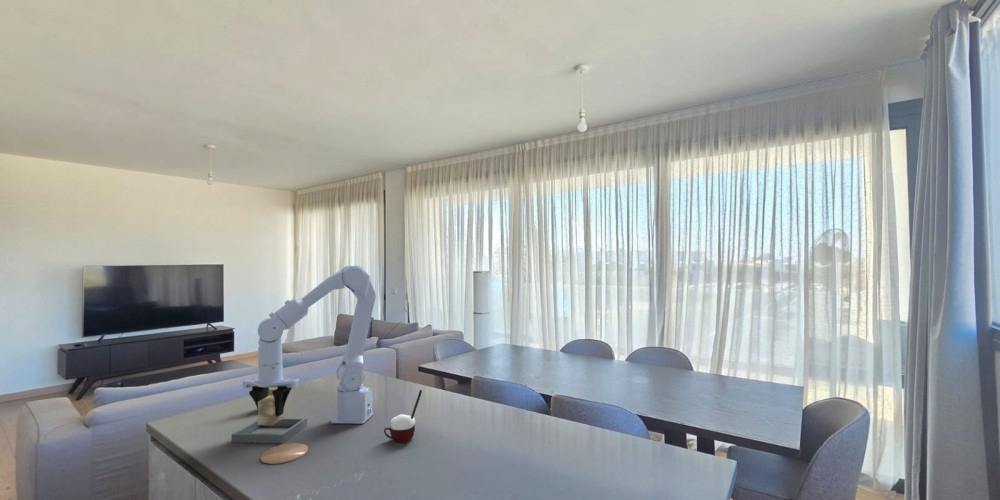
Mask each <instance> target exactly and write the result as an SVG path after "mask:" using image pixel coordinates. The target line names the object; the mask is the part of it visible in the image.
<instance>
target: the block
mask: <svg viewBox="0 0 1000 500" xmlns="http://www.w3.org/2000/svg"><path fill="white" fill-rule="evenodd" d="M284 412H285V410H283V414H281V415H280V416H276V413H275V400H274V396H268V397H266V398H264V399H262V400H260V401H258V409H257V420H258V425H273V424H275V423H277V422H278V421H280V420H281V419H283V418H285V415H284V414H285V413H284Z"/></svg>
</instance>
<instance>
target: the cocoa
mask: <svg viewBox="0 0 1000 500" xmlns="http://www.w3.org/2000/svg"><path fill="white" fill-rule="evenodd" d="M422 393H423V390H422V389H419V392H418V395H417V398H416V400H415V404H414V407H413V410H412V413H411V415H408V414H398V415H396V416H394V417H392V418H390V425H389V427H385V428H384V429H383V433H384V435H385V436H386V438H388V439H390V440H393V441H394V442H395V443H399V444H401V443H403V444H404V443H407V442H409V441H411V439H413V437H414V435H415V430H416V419H415V417H414V416H415V414H416V410H417V408H418V404H419V401H420V398H421V396H422ZM387 430H389V432H390V435H389V434H388V433H387V432H386V431H387Z"/></svg>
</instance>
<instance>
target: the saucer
mask: <svg viewBox="0 0 1000 500" xmlns="http://www.w3.org/2000/svg"><path fill="white" fill-rule="evenodd" d="M308 450H309V447H308V446H307V445H306V444H304V443H299V442H296V443H295V442H294V443H293V442H292V443H291V442H290V443H283V444H280V445H277V446H273V447H271V448H269V449H266V450H265V451H264V452H262V453H261V455H260V461H261V462H262V463H263V462H264V463H263V464H266V463H267V464H266V465H279V464H280V465H281V464H285V463H290V462H293V461H296V460H298V459H300V458H302V457H304V456H306V455H307V453H308V452H309V451H308Z"/></svg>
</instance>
